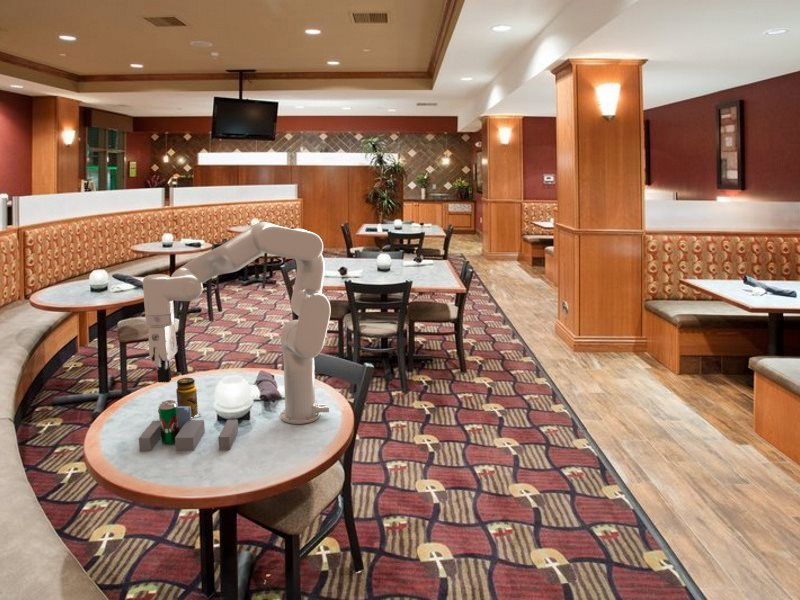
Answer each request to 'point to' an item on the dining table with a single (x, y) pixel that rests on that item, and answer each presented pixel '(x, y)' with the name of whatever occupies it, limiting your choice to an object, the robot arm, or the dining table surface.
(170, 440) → the soda can
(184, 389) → the condiment
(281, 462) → the dining table surface
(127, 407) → the dining table surface
